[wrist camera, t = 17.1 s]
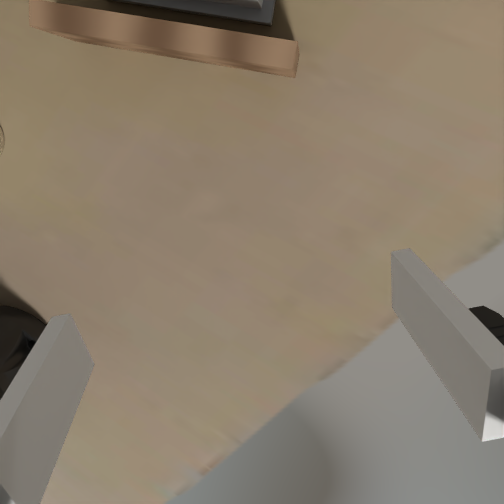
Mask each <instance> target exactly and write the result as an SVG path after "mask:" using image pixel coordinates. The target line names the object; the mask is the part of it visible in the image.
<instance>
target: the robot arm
mask: <svg viewBox="0 0 504 504" xmlns="http://www.w3.org/2000/svg"><path fill="white" fill-rule="evenodd" d="M391 280H392V308H393V310H394V311H395V313H396V314H397V316H398V317H399V319H400V320H401V322H402V323H403V325H404V326H405V328H406V329H407V331H408V332H409V333H410V335H411V337H412V338H413V340H414V341H415V342H416V344H417V346H418V347H419V348H420V350H421V352H422V353H423V355H424V356H425V357H426V359H427V360H428V362H429V363H430V365H431V366H432V368H433V369H434V371H435V372H436V374H437V375H438V377H439V378H440V380H441V381H442V382H443V384H444V386H445V387H446V389H447V390H448V392H449V393H450V395H451V396H452V397H453V399H454V401H455V402H456V404H457V405H458V407H459V408H460V410H461V411H462V412H463V414H464V416H465V417H466V418H467V420H468V421H469V423H470V424H471V426H472V427H473V429H474V430H475V432H476V433H477V435H478V436H479V438H480V439H481V441H482V442H483V441H488V440H493V439H499V438H504V318H503V317H502V316H501V315H500V314H499V313H496V312H495V311H493V310H491V309H489V308H487V307H485V306H479V307H474V308H469V309H468V308H467V307H466V306H465V305H464V304H463V303H462V302H461V301H460V300H459V299H458V298H457V297H456V296H455V295H454V294H453V293H452V291H451V290H450V289H449V288H448V287H447V286H446V285H445V284H444V283H443V282H442V281H441V280H440V279H439V278H438V277H437V276H436V275H435V274H434V273H433V272H432V271H431V270H430V269H429V268H428V267H427V265H426V264H425V263H424V262H423V261H422V260H421V259H420V258H419V257H418V256H417V255H416V254H415V253H414V252H413V251H412V250H411V249H410V248H408V249H403V250H398V251H393V252H391ZM93 367H94V362H93V360H92V358H91V356H90V354H89V351H88V349H87V347H86V345H85V343H84V341H83V339H82V337H81V335H80V332H79V330H78V328H77V326H76V324H75V322H74V320H73V318H72V316H71V313H70V314H64V315H59V316H54V317H52V318H51V319H50V321H49V322H48V324H47V326H45V325H44V324H43V323H42V322H41V321H39V320H38V319H36V318H35V317H33V316H32V315H30V314H28V313H26V312H24V311H22V310H19V309H16V308H12V307H7V306H0V504H40V502H41V500H42V497H43V495H44V492H45V490H46V487H47V484H48V482H49V479H50V477H51V474H52V472H53V469H54V467H55V464H56V461H57V459H58V456H59V454H60V451H61V449H62V446H63V444H64V441H65V438H66V436H67V433H68V431H69V428H70V426H71V423H72V421H73V418H74V415H75V413H76V410H77V408H78V405H79V403H80V400H81V398H82V395H83V392H84V390H85V387H86V385H87V382H88V380H89V377H90V375H91V372H92V369H93Z"/></svg>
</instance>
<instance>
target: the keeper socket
mask: <svg viewBox="0 0 504 504" xmlns="http://www.w3.org/2000/svg"><path fill="white" fill-rule="evenodd" d="M111 1H117V2H124V3H130V4H136V5H143V6H149V7H155V8H162V9H168V10H174V11H181V12H187V13H193V14H200V15H206V16H212V17H218V18H225V19H231V20H237V21H244V22H250V23H256V24H263V25H269V26H272V20H273V14H274V8H275V1H276V0H111Z"/></svg>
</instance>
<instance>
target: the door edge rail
mask: <svg viewBox="0 0 504 504" xmlns="http://www.w3.org/2000/svg"><path fill="white" fill-rule="evenodd" d="M29 24H30V26H31V27H34V28H37V29H40V30H43V31H46V32H49V33H52V34H55V35H58V36H61V37H64V38H67V39H70V40H73V41H77V42H83V43H89V44H95V45H101V46H107V47H113V48H119V49H125V50H131V51H137V52H143V53H149V54H155V55H161V56H167V57H173V58H179V59H185V60H191V61H197V62H203V63H209V64H215V65H221V66H227V67H233V68H239V69H245V70H251V71H257V72H263V73H269V74H275V75H281V76H287V77H293V78H295V76H296V71H297V65H298V60H299V47H298V41H292V40H285V39H279V38H273V37H267V36H261V35H254V34H248V33H242V32H236V31H229V30H223V29H217V28H211V27H204V26H198V25H192V24H186V23H179V22H173V21H167V20H161V19H154V18H148V17H142V16H136V15H129V14H123V13H117V12H111V11H104V10H98V9H92V8H86V7H80V6H73V5H67V4H61V3H55V2H48V1H42V0H29Z"/></svg>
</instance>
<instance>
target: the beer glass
mask: <svg viewBox="0 0 504 504" xmlns="http://www.w3.org/2000/svg"><path fill="white" fill-rule="evenodd" d="M3 148H4V136H3V132H2V129H1V127H0V156H1V154H2V152H3Z"/></svg>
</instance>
